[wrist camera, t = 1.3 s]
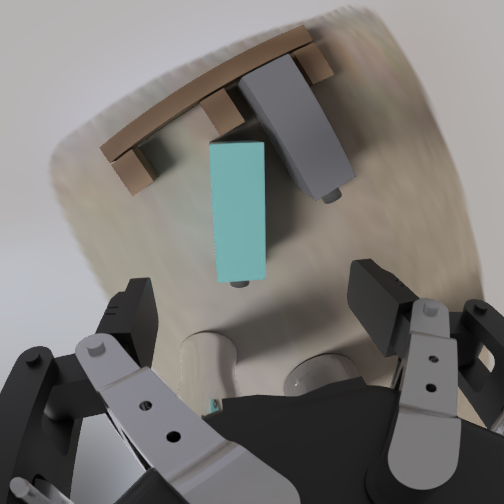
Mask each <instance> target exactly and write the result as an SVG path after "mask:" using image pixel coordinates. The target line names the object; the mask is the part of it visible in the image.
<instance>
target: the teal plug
mask: <svg viewBox="0 0 504 504" xmlns="http://www.w3.org/2000/svg"><path fill="white" fill-rule="evenodd" d="M209 155H210V175H211V193H212V210H213V226H214V240H215V254H216V267H217V280H218V283H221V282H230V285H231V286H233V287H236V288H242V287H246V286H248V285H249V280H261V279H266V248H265V171H264V142H260V141H256V140H242V141H220V142H210V143H209Z"/></svg>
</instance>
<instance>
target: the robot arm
mask: <svg viewBox="0 0 504 504" xmlns="http://www.w3.org/2000/svg"><path fill="white" fill-rule="evenodd" d="M347 300H348V305H349V307H350V309H351V310H352V312H353V313H354V315H355V316H356V317H357V319H358V320H359V321H360V323H361V324H362V326H363V327H364V328H365V330H366V331H367V333H368V334H369V335H370V337H371V338H372V340H373V341H374V342H375V344H376V345H377V347H378V348H379V349H380V351H381V352H382V354H383V355H384V357H389V356H393V355H398V359H397V362H396V366H395V370H394V374H393V379H392V383H391V387H390V388H388V387H383V386H374V385H366V383H365V381H364V380H363V378H362V376H360V375H359V373H358V371H357V369H356V368H355V366H354V364H353V362H352V361H351V360H350V359H349V358H347V357H345V356H342V355H337V354H328V355H321V356H318V357H315V358H312V359H310V360H308V361H306V362H304V363H302V364H301V365H299V366H298V367H297V368H296V369H294V370H293V371H292V372H291V374H290V375H289V376H288V377H287V379H286V381H285V385H284V394H285V396H271V395H252V396H243V397H233V398H222V408H223V409H221V410H217V411H215V412H212V413H210V414H207V415H205V416H203V417H202V418H200V417H199V416H198V415H197V414H196V413H195V412H194V411H193V410H191V409H190V408H189V407H188V406H187V405H186V404H185V403H184V402H183V401H182V400H181V399H180V398H179V397H178V396H177V395H176V394H175V393H174V392H173V391H172V390H171V389H170V388H169V387H168V386H167V385H166V384H165V383H164V382H163V381H162V380H161V379H160V378H159V377H158V376H157V375H156V374H155V373H154V372H153V371H152V370H151V366H152V360H153V354H154V348H155V342H156V337H157V331H158V313H157V308H156V303H155V298H154V293H153V288H152V283H151V280H150V278H149V277H148V278H134V279H130V281H129V283H128V286H127V288H126V290H125V292H118V293H117V294H116V295H115V296H114V297H113V298H111V300H110V302H109V304H108V306H107V309H106V310H105V313H104V315H103V317H102V319H101V321H100V324H99V326H98V328H97V331H96V333H95V334H94V335H90V336H88V337H86V338H84V339H83V340H81V341H80V342H79V343H78V345H77V346H76V349H75V353H74V354H71V355H66V356H61V357H57V358H54V356H53V354H52V352H51V350H50V349H49V348H47V347H43V346H37V347H33V348H30V349H28V350H26V351H24V352H23V353H22V354H21V355H20V356H19V357H18V359H17V361H16V363H15V364H14V367H13V368H12V370H11V372H10V374H9V377H8V378H7V380H6V382H5V385H4V387H3V389H2V391H1V393H0V504H74V503H73V502H72V501H70V492H71V483H72V477H73V470H74V464H75V457H76V452H77V446H78V441H79V435H80V430H81V426H82V421H83V418H84V417H89V416H94V415H98V414H103V413H104V414H105V415H106V417H107V418H108V420H109V421H110V423H111V424H112V426H113V427H114V429H115V430H116V432H117V433H118V434H119V436H120V437H121V439H122V440H123V442H124V443H125V444H126V445H127V447H128V448H129V450H130V451H131V453H132V454H133V456H134V457H135V458H136V460H137V461H138V463H139V464H140V465H141V467H142V468H143V469H144V471H145V473H144V474H143V475H142V476H141V477H140V478H139V479H138V480H137V481H136V482H135V483H134V484H133V485H132V486H131V488H129V489H128V490H127V491H126V492H125V493H124V494H123V495H122V496H121V497H120V498H119V499H118V500H117V501H116V502H115V503H114V504H504V317H503V316H502V315H501V314H500V313H499V312H498V311H497V310H495V309H494V308H493V307H492V306H491V305H489V304H488V303H486V302H484V301H481V300H476V299H472V300H468V301H466V303H465V305H464V308H463V311H462V312H449V311H448V309H447V307H446V306H445V305H444V304H442V303H441V302H439V301H437V300H433V299H428V298H423V299H420V298H419V297H418V296H416V295H415V294H414V293H413V292H412V291H411V290H410V289H409V288H408V287H407V286H405V284H403V283H402V282H401V281H399V279H398V278H397V277H396V276H395V275H393V274H392V273H390V272H388V271H386V270H384V269H382V268H381V267H380V266H378V265H377V264H376V263H375V262H374V261H373V260H372V259H361V260H354V261H352V263H351V268H350V276H349V285H348V292H347ZM483 345H485V346H486V348H487V349H488V350H489V351H490V352H491V353H492V354H493V356H494V359H495V366H494V368H493V370H492V372H490V371H489V370H488V369H487V368H486V366H485V365H484V364H483V363H482V362H481V360H480V359H479V358H478V356H479V354H480V352H481V350H482V347H483ZM458 386H459V388H460V389H461V391H462V392H463V393H464V395H465V396H466V398H467V399H468V401H469V402H470V403H471V405H472V406H473V408H474V409H475V411H476V412H477V414H478V415H479V417H480V418H481V420H482V421H483V423H484V424H485V426H486V427H487V429H486V428H483V427H481V426H478V425H476V424H474V423H471V422H469V421H466V420H464V419H461V418H459V417H458V416H457V396H458Z"/></svg>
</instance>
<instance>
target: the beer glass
mask: <svg viewBox="0 0 504 504" xmlns="http://www.w3.org/2000/svg"><path fill="white" fill-rule="evenodd" d="M179 358H180V363H181V380H180V383H179V387H178V390H177V393H176V395H177V396H178V397H179V398H180V399H181V400H182V401H183V402H184V403H185V404H186V405H187V406H188V407H189V408H190V409H191V410H193V411H194V412H195V413H196V414H197V415H198V416H199V417H200V418H202V417H203V416H205V415H207V414H210V413H212V412H215V411H217V410H221V409H223V408H222V398H233V397H243V395H242V393H241V390H240V388H239V385H238V382H237V380H236V375H235V367H236V360H237V351H236V348H235V346H234V344H233V343H232V342H231V341H230V340H229V339H228V338H227V337H225V336H223V335H221V334H218V333H213V332H202V333H197V334H194V335H192V336H190V337H188V338H187V339H186V340H185V341H184V342H183V343H182V345H181V347H180V350H179Z"/></svg>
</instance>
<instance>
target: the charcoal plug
mask: <svg viewBox="0 0 504 504" xmlns="http://www.w3.org/2000/svg"><path fill="white" fill-rule="evenodd" d="M237 88H238V90H239V91H240V93H241V94H242V96H243V98H244V99H245V101H246V102H247V104H248V105H249V107H250V108H251V110H252V112H253V113H254V115H255V116H256V118H257V120H258V121H259V123H260V124H261V126H262V128H263V129H264V131H265V133H266V134H267V136H268V138H269V139H270V141H271V143H272V144H273V146H274V148H275V149H276V151H277V153H278V154H279V156H280V158H281V159H282V161H283V163H284V165H285V166H286V168H287V170H288V171H289V173H290V175H291V177H292V178H293V180H294V182H295V184H296V185H297V187H298V188H299V189H300V190H301V191H303V192H304V193H305V194H307V195H308V196H310V197H311V198H312V199H314V200H315V201H316V200H318V199H320V198H321V197H322V199H323V201H324V203H326V204H328V203H332V202H334V201H336V200H338V199H339V198H340V197H341V196H342V194H341V192H340V190H339V188H338V187H340V186H341V185H343V184H345V183H346V182H348V181H350V180H351V179H353V178H354V177H356V174H355V172H354V170H353V168H352V166H351V164H350V162H349V160H348V158H347V156H346V154H345V152H344V150H343V148H342V146H341V144H340V142H339V140H338V138H337V136H336V134H335V132H334V130H333V128H332V127H331V125H330V123H329V121H328V119H327V117H326V116H325V114H324V112H323V110H322V108H321V107H320V105H319V103H318V101H317V99H316V98H315V96H314V94H313V93H312V91H311V89H310V87H309V86H308V84H307V82H306V81H305V79H304V77H303V76H302V74H301V73H300V71H299V69H298V68H297V66H296V65H295V63H294V61H293V60H292V58H291V57H290V55H289V54H287V55H285V56H283V57H280V58H278V59H276V60H274V61H272V62H270V63H268V64H266V65H264V66H262V67H260V68H258V69H256V70H255V71H253V72H251V73H249V74H247V75H245V76H243V77H242V78H241V80H240V82H239V84H238V85H237Z"/></svg>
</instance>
